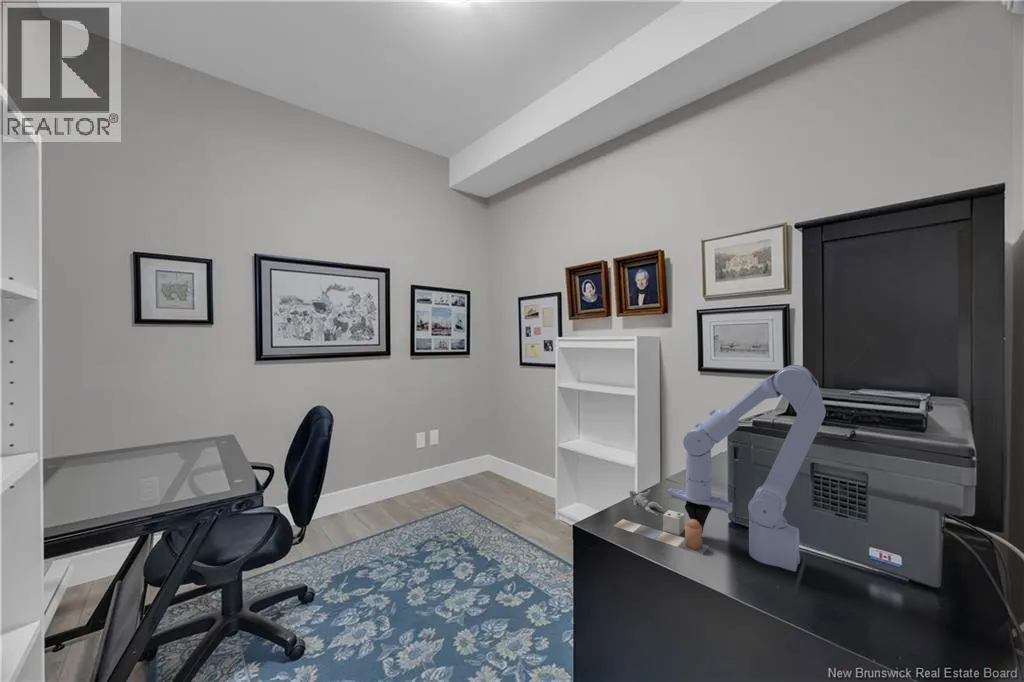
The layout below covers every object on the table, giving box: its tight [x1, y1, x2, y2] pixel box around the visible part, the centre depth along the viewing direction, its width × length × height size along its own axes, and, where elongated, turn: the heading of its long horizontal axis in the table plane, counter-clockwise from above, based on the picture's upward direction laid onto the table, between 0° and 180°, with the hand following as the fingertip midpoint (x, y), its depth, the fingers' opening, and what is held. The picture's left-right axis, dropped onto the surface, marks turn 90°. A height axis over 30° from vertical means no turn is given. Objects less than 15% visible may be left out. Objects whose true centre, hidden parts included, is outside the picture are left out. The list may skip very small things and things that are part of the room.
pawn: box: [684, 518, 703, 550], centre depth 96 cm, size 4×4×6 cm
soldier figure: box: [629, 489, 667, 517], centre depth 119 cm, size 8×5×12 cm
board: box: [613, 518, 710, 556], centre depth 104 cm, size 22×12×1 cm, turn 49°
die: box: [662, 509, 686, 536], centre depth 105 cm, size 4×4×4 cm
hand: (698, 533), depth 101 cm, fingers closed
